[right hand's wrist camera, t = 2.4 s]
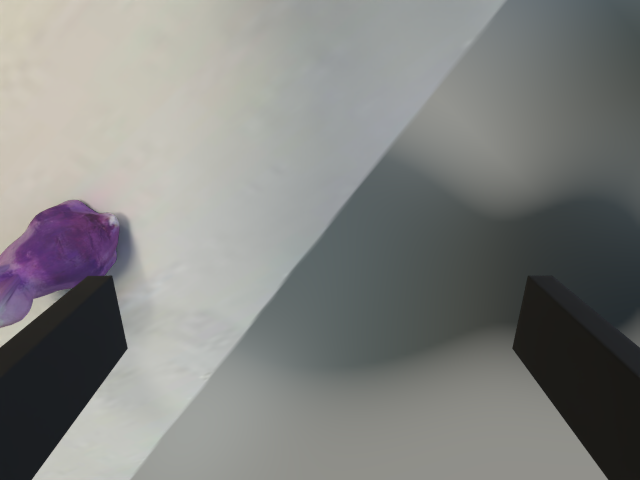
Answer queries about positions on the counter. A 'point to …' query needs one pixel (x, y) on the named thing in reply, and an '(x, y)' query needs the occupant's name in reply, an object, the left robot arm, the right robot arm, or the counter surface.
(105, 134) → the counter surface
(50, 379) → the right robot arm
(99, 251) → the figurine
